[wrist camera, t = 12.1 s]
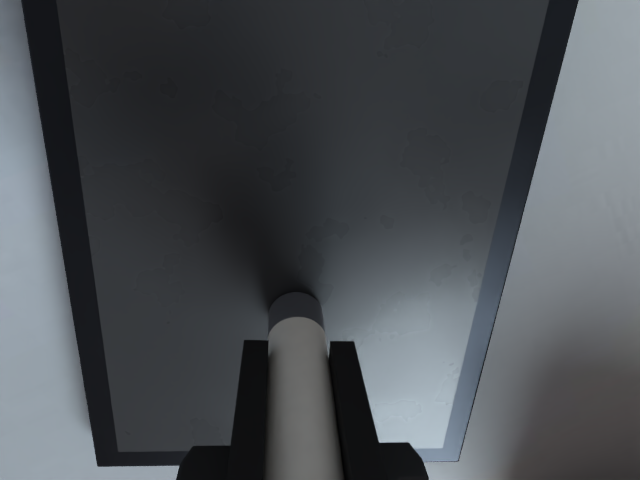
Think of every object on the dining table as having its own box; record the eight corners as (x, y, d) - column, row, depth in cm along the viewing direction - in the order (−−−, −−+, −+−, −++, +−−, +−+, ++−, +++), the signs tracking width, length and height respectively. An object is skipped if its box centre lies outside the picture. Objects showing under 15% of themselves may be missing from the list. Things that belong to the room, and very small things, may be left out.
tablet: (13, -182, 12) (-17, -207, 11) (586, -112, 13) (615, -128, 12) (106, 444, 20) (95, 469, 19) (450, 441, 22) (459, 464, 21)
